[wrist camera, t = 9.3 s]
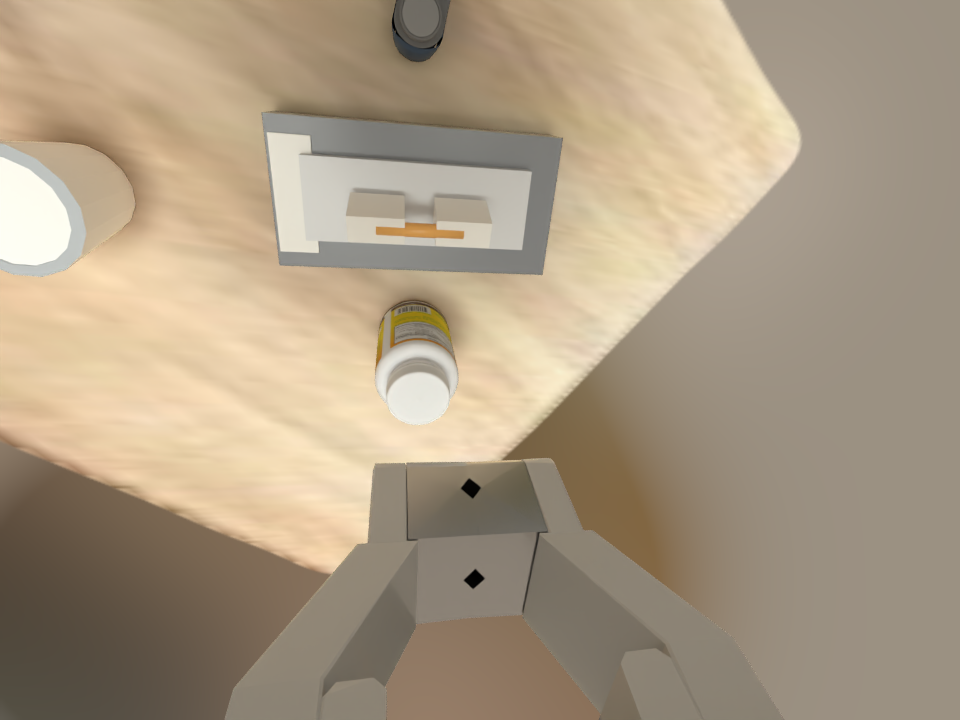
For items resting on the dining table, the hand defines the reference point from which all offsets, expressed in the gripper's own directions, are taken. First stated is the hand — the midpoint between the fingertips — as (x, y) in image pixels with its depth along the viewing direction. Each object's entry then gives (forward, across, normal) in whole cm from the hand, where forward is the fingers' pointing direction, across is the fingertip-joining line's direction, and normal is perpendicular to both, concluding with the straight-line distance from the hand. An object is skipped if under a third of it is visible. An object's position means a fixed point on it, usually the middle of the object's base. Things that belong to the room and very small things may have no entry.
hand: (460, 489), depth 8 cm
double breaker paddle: (+25, 0, 0) cm, 25 cm away
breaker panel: (+29, 0, 0) cm, 29 cm away
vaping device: (+29, 0, -10) cm, 31 cm away
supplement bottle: (+29, 0, +10) cm, 31 cm away
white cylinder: (+29, +21, +1) cm, 36 cm away
